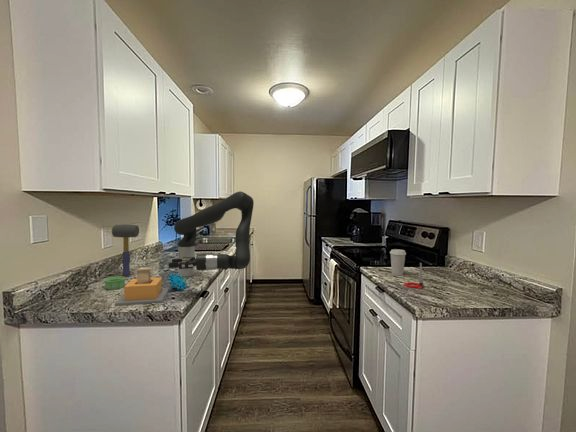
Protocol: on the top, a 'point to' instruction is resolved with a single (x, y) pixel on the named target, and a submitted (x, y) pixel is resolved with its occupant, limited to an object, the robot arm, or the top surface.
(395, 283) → the top surface
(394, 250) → the coffee cup
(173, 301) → the top surface
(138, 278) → the tall wooden block
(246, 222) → the robot arm
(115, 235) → the rubber mallet
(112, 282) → the ramekin
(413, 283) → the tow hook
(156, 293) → the orange square frame
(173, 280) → the gear
